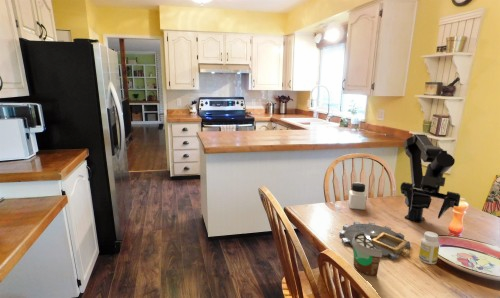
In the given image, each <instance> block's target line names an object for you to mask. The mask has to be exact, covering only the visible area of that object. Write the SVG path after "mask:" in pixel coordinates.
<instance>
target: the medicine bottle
mask: <svg viewBox="0 0 500 298" xmlns="http://www.w3.org/2000/svg"><path fill="white" fill-rule="evenodd" d="M365 190H366V184H365V183H362V182H352V185H351V190H349V192H348V206H349V209H351V210H352V209H354V210H362V211H363V210H365V211H366V207H367V197H368V196H367V195H366V193H365V192H366V191H365Z"/></svg>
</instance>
